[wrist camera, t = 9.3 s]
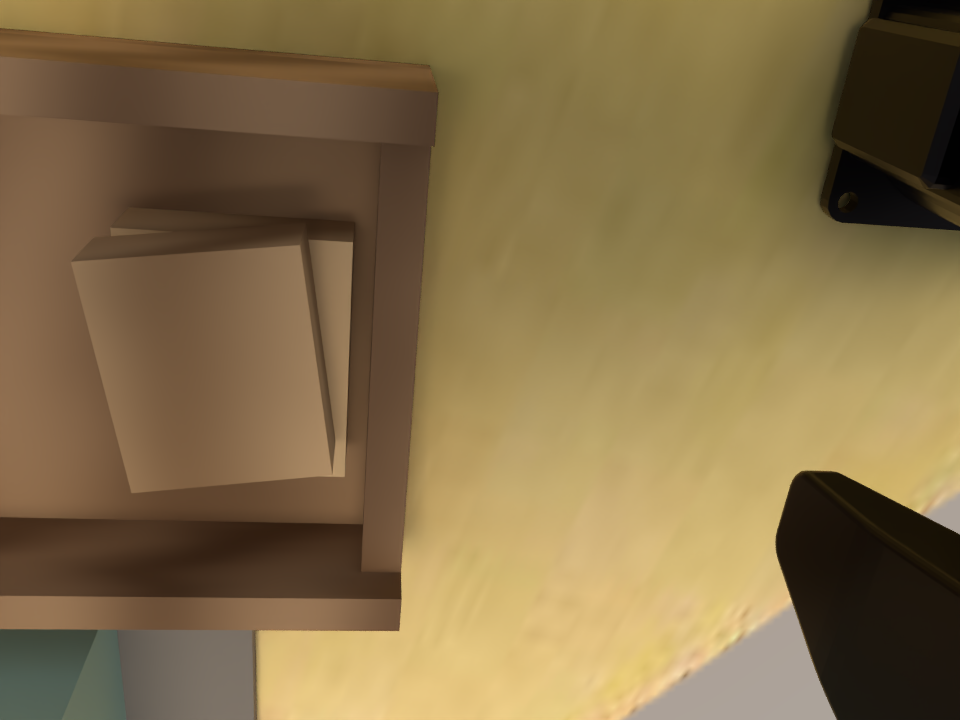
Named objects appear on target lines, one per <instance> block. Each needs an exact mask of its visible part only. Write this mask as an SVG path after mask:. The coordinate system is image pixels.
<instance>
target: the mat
mask: <svg viewBox="0 0 960 720" xmlns="http://www.w3.org/2000/svg"><path fill="white" fill-rule="evenodd" d="M117 635H118V645H119V654H120V663H121V673H122V682H123V692H124V701H125V710H126V720H257V708H256V653H255V630H117Z"/></svg>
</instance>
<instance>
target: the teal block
mask: <svg viewBox="0 0 960 720" xmlns="http://www.w3.org/2000/svg"><path fill="white" fill-rule="evenodd" d="M0 720H126V710H125V701H124V692H123V682H122V673H121V663H120V654H119V645H118V635H117V630H75V629H0Z"/></svg>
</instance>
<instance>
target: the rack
mask: <svg viewBox="0 0 960 720" xmlns="http://www.w3.org/2000/svg"><path fill="white" fill-rule="evenodd" d="M437 105H438V90H437V87H436V84H435V81H434V78H433V75H432V72H431V68H430V65H418V64H407V63H395V62H384V61H372V60H361V59H349V58H337V57H326V56H314V55H303V54H291V53H279V52H268V51H256V50H245V49H233V48H222V47H210V46H198V45H187V44H175V43H164V42H152V41H141V40H129V39H117V38H106V37H94V36H83V35H71V34H59V33H48V32H36V31H25V30H13V29H2V28H0V629H75V630H309V631H399V627H400V613H401V563H402V549H403V535H404V521H405V507H406V493H407V479H408V465H409V451H410V436H411V422H412V408H413V394H414V380H415V366H416V352H417V338H418V324H419V310H420V296H421V282H422V268H423V254H424V240H425V226H426V212H427V198H428V184H429V170H430V156H431V146H433V147H434V146H435V132H436V118H437ZM129 207H130V208H146V209H162V210H178V211H194V212H210V213H226V214H241V215H257V216H273V217H289V218H305V219H321V220H337V221H353V222H355V236H354V264H353V292H352V320H351V348H350V376H349V404H348V432H347V452H346V466H345V477H324V476H317V477H306V478H295V479H284V480H273V481H262V482H250V483H239V484H228V485H217V486H206V487H195V488H184V489H173V490H162V491H151V492H140V493H131V489H130V485H129V482H128V478H127V474H126V470H125V466H124V463H123V459H122V455H121V451H120V447H119V444H118V440H117V436H116V432H115V428H114V424H113V421H112V417H111V413H110V409H109V405H108V402H107V398H106V394H105V390H104V386H103V383H102V379H101V375H100V371H99V367H98V364H97V360H96V356H95V352H94V348H93V345H92V341H91V337H90V333H89V329H88V326H87V322H86V318H85V314H84V310H83V307H82V303H81V299H80V295H79V291H78V288H77V284H76V280H75V276H74V272H73V269H72V265H71V261H72V260H73V259H74V258H75V257H76V256H77V255H78V253H79V252H80V251H81V250H82V249H83V248H84V247H85V246H86V245H87V244H88V243H89V242H90V241H91V240H92V239H93V237H107V236H111V230H110V228H111V226H112V225H113V224H114V223H115V222H116V221H117V220H118V219H119V218H120V217H121V216H122V214H123V213H124V212H125V211H126V210H127V209H128V208H129Z"/></svg>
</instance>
